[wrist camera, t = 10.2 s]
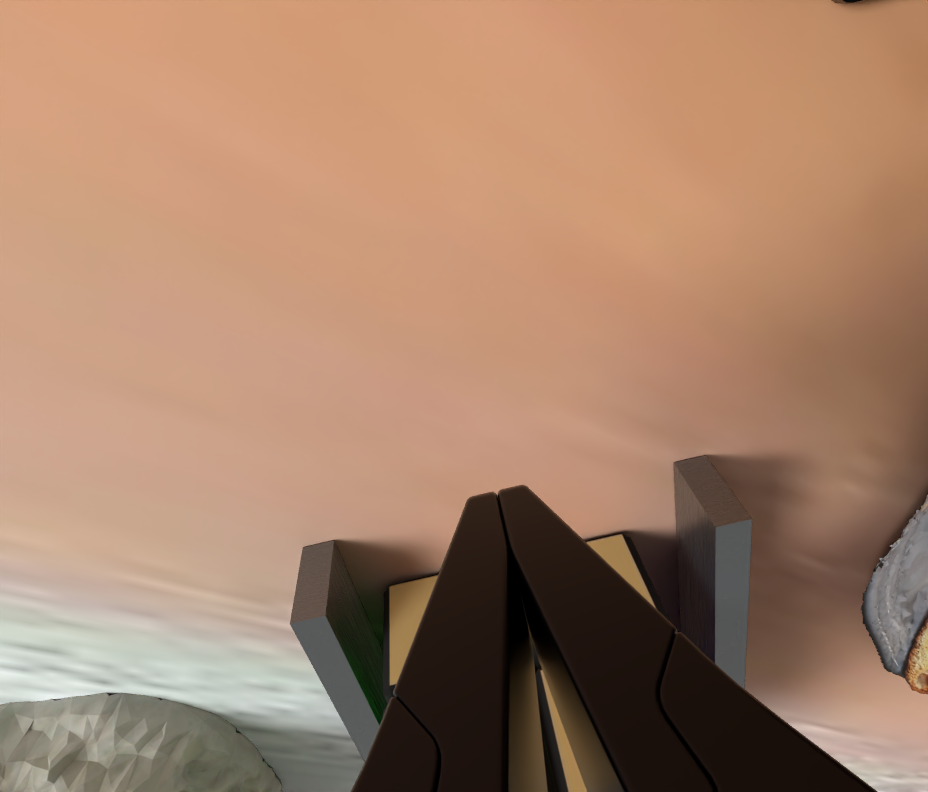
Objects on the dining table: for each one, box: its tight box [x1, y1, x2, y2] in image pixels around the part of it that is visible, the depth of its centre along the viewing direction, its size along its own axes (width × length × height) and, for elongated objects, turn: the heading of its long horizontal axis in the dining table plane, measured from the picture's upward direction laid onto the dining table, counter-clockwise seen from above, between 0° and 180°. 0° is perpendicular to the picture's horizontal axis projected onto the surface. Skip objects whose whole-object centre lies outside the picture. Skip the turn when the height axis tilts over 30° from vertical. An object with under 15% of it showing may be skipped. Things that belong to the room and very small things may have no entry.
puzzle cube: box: [383, 534, 670, 792], centre depth 23 cm, size 10×10×10 cm
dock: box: [290, 455, 752, 761], centre depth 25 cm, size 15×14×4 cm
